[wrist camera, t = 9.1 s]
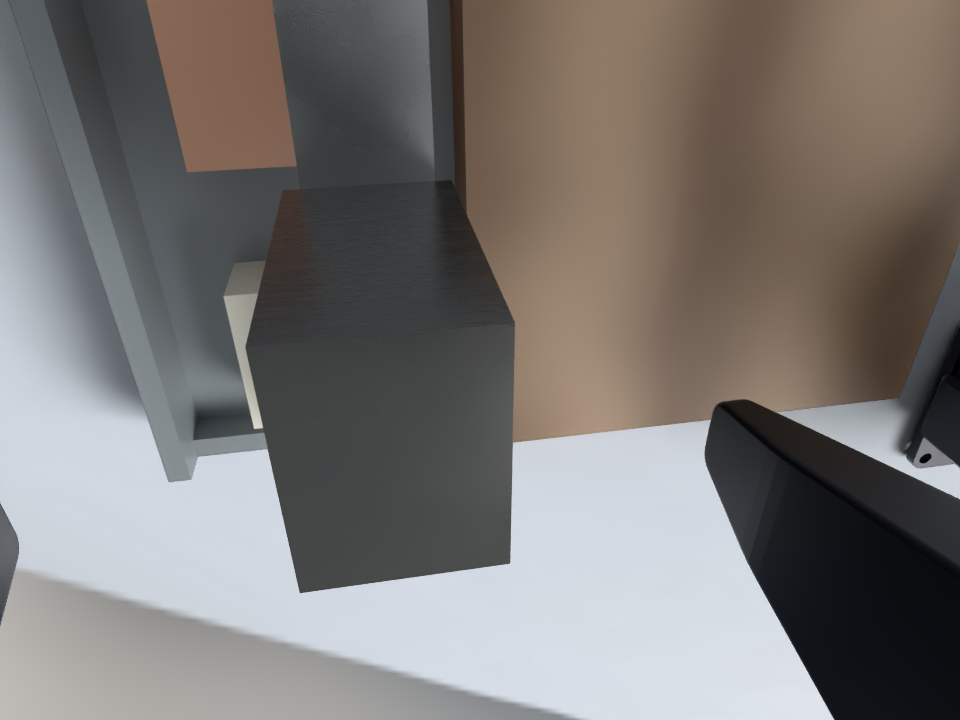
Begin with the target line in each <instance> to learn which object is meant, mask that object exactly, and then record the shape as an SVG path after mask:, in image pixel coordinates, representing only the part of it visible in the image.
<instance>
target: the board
mask: <svg viewBox="0 0 960 720" xmlns="http://www.w3.org/2000/svg"><path fill="white" fill-rule="evenodd" d="M450 23H451V58H452V93H453V128H454V163H455V189H456V191H457V194H458V196H459V198H460V200H461V203H462V205H463V207H464V209H465V212H466V214H467V216H468V218H469V221H470V223H471V225H472V227H473V230H474V232H475V234H476V236H477V239H478V241H479V243H480V245H481V247H482V250H483V252H484V254H485V256H486V259H487V261H488V263H489V265H490V268H491V270H492V272H493V274H494V277H495V279H496V281H497V283H498V286H499V288H500V290H501V292H502V295H503V297H504V299H505V301H506V304H507V306H508V308H509V310H510V312H511V315H512V317H513V319H514V321H515V353H514V400H513V442H521V441H530V440H539V439H547V438H556V437H565V436H573V435H582V434H591V433H599V432H608V431H617V430H625V429H634V428H643V427H651V426H660V425H669V424H677V423H686V422H695V421H703V420H711V417H712V413H713V410H714V408H715V406H716V405H717V404H718V403H720V402H722V401H731V400H739V399H747V400H751V401H753V402H755V403H757V404H759V405H761V406H763V407H765V408H768V409H770V410H772V411H774V412H781V411H790V410H799V409H807V408H816V407H825V406H833V405H842V404H850V403H859V402H868V401H876V400H885V399H894V398H900V395H901V393H902V390H903V387H904V385H905V382H906V380H907V377H908V374H909V372H910V369H911V367H912V364H913V361H914V359H915V356H916V354H917V351H918V349H919V346H920V343H921V341H922V338H923V336H924V333H925V330H926V328H927V325H928V323H929V320H930V317H931V315H932V312H933V310H934V307H935V304H936V302H937V299H938V297H939V294H940V292H941V289H942V286H943V284H944V281H945V279H946V276H947V273H948V271H949V268H950V266H951V263H952V260H953V258H954V255H955V253H956V250H957V248H958V245H959V242H960V0H450Z"/></svg>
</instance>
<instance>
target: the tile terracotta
mask: <svg viewBox="0 0 960 720" xmlns="http://www.w3.org/2000/svg"><path fill="white" fill-rule="evenodd" d="M146 1H147V5H148V9H149V14H150V18H151V22H152V26H153V31H154V35H155V39H156V43H157V47H158V52H159V56H160V60H161V64H162V68H163V73H164V77H165V81H166V85H167V89H168V94H169V98H170V102H171V106H172V111H173V115H174V119H175V123H176V127H177V132H178V136H179V140H180V144H181V148H182V153H183V157H184V161H185V165H186V169H187V172H200V171H218V170H236V169H254V168H272V167H290V166H297V164H296V158H295V151H294V145H293V138H292V131H291V125H290V118H289V112H288V105H287V98H286V92H285V85H284V78H283V72H282V65H281V59H280V52H279V45H278V39H277V32H276V26H275V19H274V12H273V6H272V0H146Z"/></svg>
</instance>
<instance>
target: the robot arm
mask: <svg viewBox="0 0 960 720" xmlns="http://www.w3.org/2000/svg"><path fill="white" fill-rule="evenodd" d="M906 458H907V460H908V461H909V462H910V463H911V464H912V465H913V466H915V467H916V468H927V467H935V466H942V465H950V464H956V465H957V466H958V467H959V468H960V329H959V330H958V332H957V334H956V337H955V339H954V341H953V344H952V346H951V349H950V351H949V354H948V356H947V358H946V361H945V363H944V366H943V368H942V370H941V373H940V375H939V378H938V380H937V382H936V385H935V387H934V390H933V392H932V394H931V397H930V399H929V402H928V404H927V407H926V409H925V411H924V414H923V416H922V419H921V421H920V423H919V426H918V428H917V431H916V433H915V435H914V438H913V440H912V443H911V445H910V447H909V450H908V452H907V456H906ZM705 462H706V466H707V468H708V471H709V473H710V476H711V478H712V480H713V483H714V485H715V488H716V490H717V492H718V495H719V497H720V499H721V502H722V504H723V507H724V509H725V511H726V514H727V516H728V519H729V521H730V523H731V526H732V528H733V530H734V533H735V535H736V538H737V540H738V542H739V545H740V547H741V549H742V551H743V554H744V556H745V558H746V560H747V562H748V564H749V566H750V568H751V570H752V572H753V574H754V576H755V578H756V580H757V581H758V583H759V585H760V587H761V589H762V590H763V592H764V594H765V596H766V598H767V599H768V601H769V603H770V605H771V607H772V608H773V610H774V612H775V614H776V616H777V617H778V619H779V621H780V623H781V625H782V626H783V628H784V630H785V632H786V634H787V635H788V637H789V639H790V641H791V643H792V644H793V646H794V648H795V650H796V652H797V653H798V655H799V657H800V659H801V661H802V662H803V664H804V666H805V668H806V670H807V671H808V673H809V675H810V677H811V679H812V680H813V682H814V684H815V686H816V688H817V689H818V691H819V693H820V695H821V697H822V698H823V700H824V702H825V704H826V706H827V707H828V709H829V711H830V713H831V715H832V716H833V718H834V720H960V499H958V498H956V497H954V496H952V495H950V494H947V493H945V492H943V491H941V490H939V489H937V488H935V487H933V486H931V485H928V484H926V483H924V482H922V481H920V480H918V479H916V478H914V477H911V476H909V475H907V474H905V473H903V472H901V471H899V470H897V469H895V468H892V467H890V466H888V465H886V464H884V463H882V462H880V461H878V460H875V459H873V458H871V457H869V456H867V455H865V454H863V453H861V452H859V451H856V450H854V449H852V448H850V447H848V446H846V445H844V444H842V443H839V442H837V441H835V440H833V439H831V438H829V437H827V436H825V435H823V434H820V433H818V432H816V431H814V430H812V429H810V428H808V427H806V426H804V425H801V424H799V423H797V422H795V421H793V420H791V419H789V418H787V417H784V416H782V415H780V414H778V413H776V412H774V411H772V410H770V409H768V408H765V407H763V406H761V405H759V404H757V403H755V402H753V401H751V400H747V399H739V400H731V401H722V402H720V403H718V404H717V405H716V406H715V408H714V410H713V413H712V417H711V422H710V427H709V432H708V436H707V441H706V446H705ZM18 554H19V542H18V538H17V535H16V532H15V531H14V529H13V527H12V525H11V523H10V521H9V519H8V517H7V515H6V513H5V511H4V509H3V507H2V505H1V504H0V625H1V621H2V617H3V613H4V609H5V606H6V602H7V598H8V594H9V590H10V586H11V582H12V579H13V575H14V571H15V567H16V563H17V559H18Z"/></svg>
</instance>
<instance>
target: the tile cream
mask: <svg viewBox="0 0 960 720" xmlns="http://www.w3.org/2000/svg"><path fill="white" fill-rule="evenodd" d="M265 263H266V261H254V262H241V263H234V266H233V269H232V272H231V275H230V278H229V281H228V284H227V287H226V290H225V293H224V296H223V297H224V301H225V305H226V310H227V314H228V318H229V323H230V327H231V331H232V336H233V340H234V344H235V349H236V353H237V357H238V361H239V366H240V370H241V374H242V379H243V383H244V387H245V392H246V396H247V400H248V405H249V409H250V413H251V418H252V422H253V426H254V429H259V428H263V425H262V421H261V416H260V412H259V407H258V403H257V398H256V394H255V389H254V385H253V380H252V376H251V371H250V367H249V362H248V358H247V353H246V349H245V346H246V342H247V338H248V333H249V329H250V325H251V321H252V317H253V313H254V308H255V304H256V300H257V296H258V292H259V288H260V283H261V279H262V275H263V271H264V267H265Z"/></svg>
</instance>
